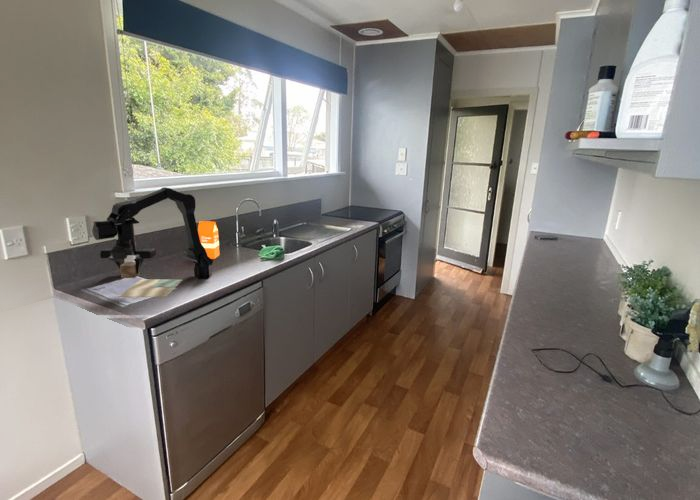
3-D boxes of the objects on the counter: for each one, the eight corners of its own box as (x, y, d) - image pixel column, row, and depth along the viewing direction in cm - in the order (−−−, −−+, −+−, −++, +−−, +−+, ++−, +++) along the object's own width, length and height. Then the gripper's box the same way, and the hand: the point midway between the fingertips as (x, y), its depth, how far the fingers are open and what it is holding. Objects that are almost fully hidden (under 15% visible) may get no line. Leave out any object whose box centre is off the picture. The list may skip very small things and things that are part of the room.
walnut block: (140, 273, 151) (139, 262, 150) (134, 277, 146) (133, 265, 145) (127, 273, 150) (126, 261, 149) (121, 277, 146) (119, 265, 144)
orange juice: (214, 259, 202) (212, 223, 197) (198, 258, 202) (195, 222, 197) (219, 255, 210) (217, 220, 204) (204, 254, 210) (201, 219, 204)
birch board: (183, 281, 167) (182, 279, 167) (166, 299, 148) (165, 296, 148) (141, 281, 166) (140, 279, 165) (118, 299, 146) (118, 296, 146)
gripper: (88, 240, 135) (94, 280, 139) (142, 241, 137) (146, 280, 141) (105, 233, 146) (110, 271, 150) (154, 234, 148) (158, 271, 152)
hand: (130, 273), depth 148 cm, fingers closed on walnut block, 5 cm apart
